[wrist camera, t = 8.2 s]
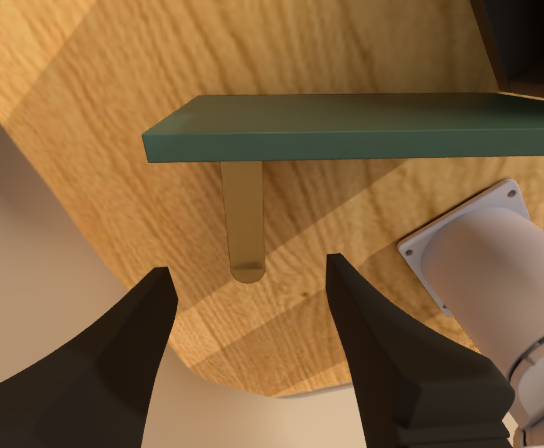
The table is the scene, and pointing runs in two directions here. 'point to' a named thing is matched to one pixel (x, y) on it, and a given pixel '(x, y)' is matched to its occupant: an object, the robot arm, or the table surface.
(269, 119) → the cubby door
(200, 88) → the table surface
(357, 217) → the table surface
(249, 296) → the table surface
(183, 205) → the table surface
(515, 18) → the cubby
